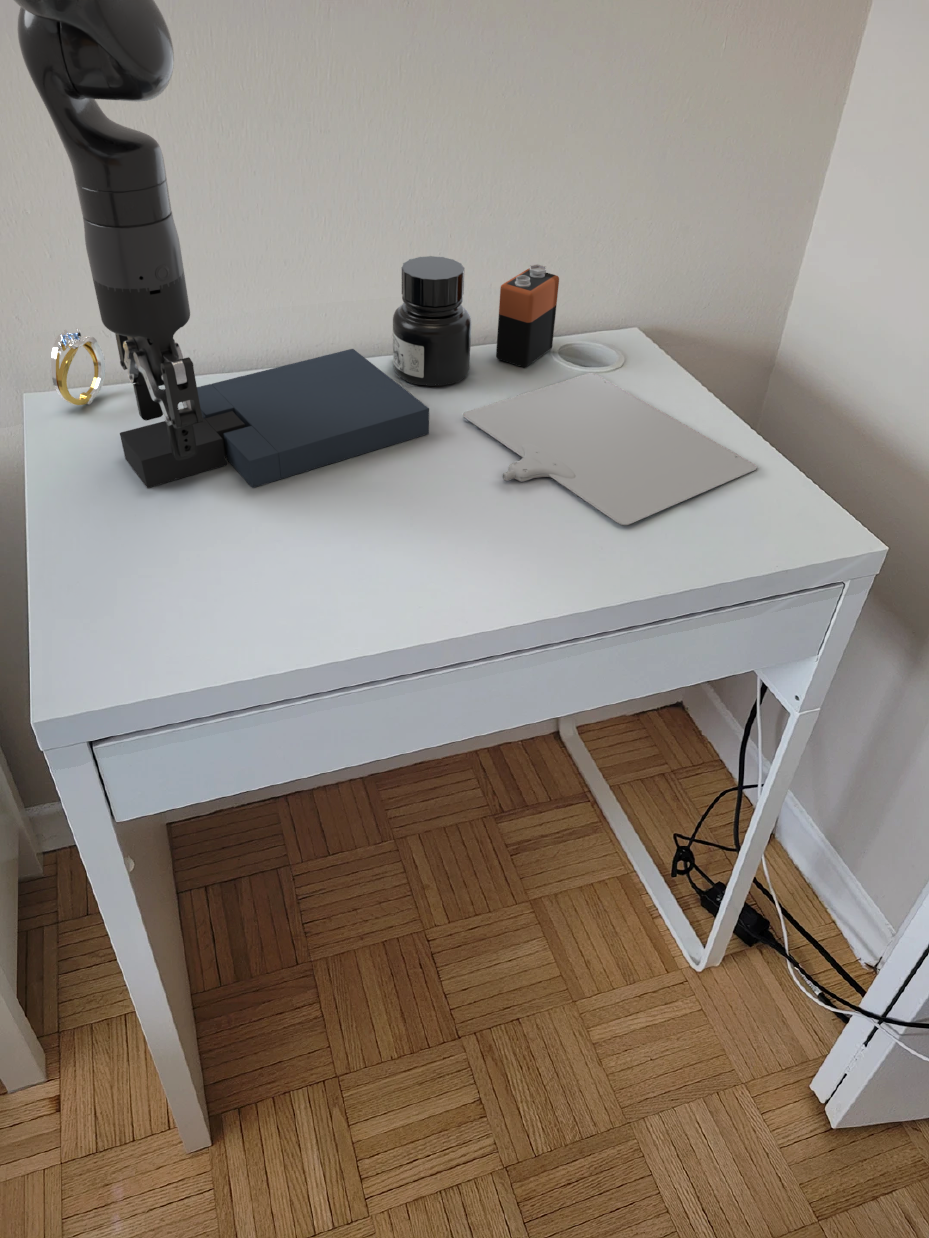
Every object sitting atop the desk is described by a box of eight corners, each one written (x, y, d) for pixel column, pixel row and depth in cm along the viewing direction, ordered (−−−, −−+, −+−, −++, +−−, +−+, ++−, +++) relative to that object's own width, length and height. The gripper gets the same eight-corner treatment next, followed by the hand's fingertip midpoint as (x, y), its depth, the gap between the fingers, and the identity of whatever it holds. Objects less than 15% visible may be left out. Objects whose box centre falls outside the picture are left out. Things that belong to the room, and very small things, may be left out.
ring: (76, 420, 99) (58, 348, 93) (52, 413, 99) (32, 341, 94) (121, 392, 103) (105, 322, 98) (97, 386, 104) (81, 315, 99)
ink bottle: (388, 353, 113) (386, 252, 105) (460, 350, 114) (464, 250, 107) (399, 392, 106) (398, 286, 98) (476, 388, 107) (482, 283, 99)
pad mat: (252, 488, 90) (248, 461, 88) (187, 416, 100) (183, 390, 98) (429, 434, 99) (429, 408, 97) (354, 372, 109) (352, 348, 107)
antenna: (429, 428, 100) (429, 418, 99) (591, 377, 112) (593, 367, 111) (591, 545, 85) (593, 535, 85) (758, 472, 97) (761, 462, 96)
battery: (553, 349, 116) (562, 267, 109) (525, 369, 111) (533, 286, 105) (522, 340, 117) (529, 259, 111) (494, 359, 113) (499, 276, 106)
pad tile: (147, 488, 90) (141, 461, 88) (125, 459, 93) (119, 432, 91) (254, 457, 95) (251, 430, 93) (229, 430, 98) (226, 404, 96)
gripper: (67, 249, 83) (104, 415, 94) (122, 306, 75) (157, 482, 85) (150, 235, 87) (177, 397, 97) (213, 289, 78) (235, 460, 89)
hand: (168, 436), depth 91 cm, fingers open, 8 cm apart
